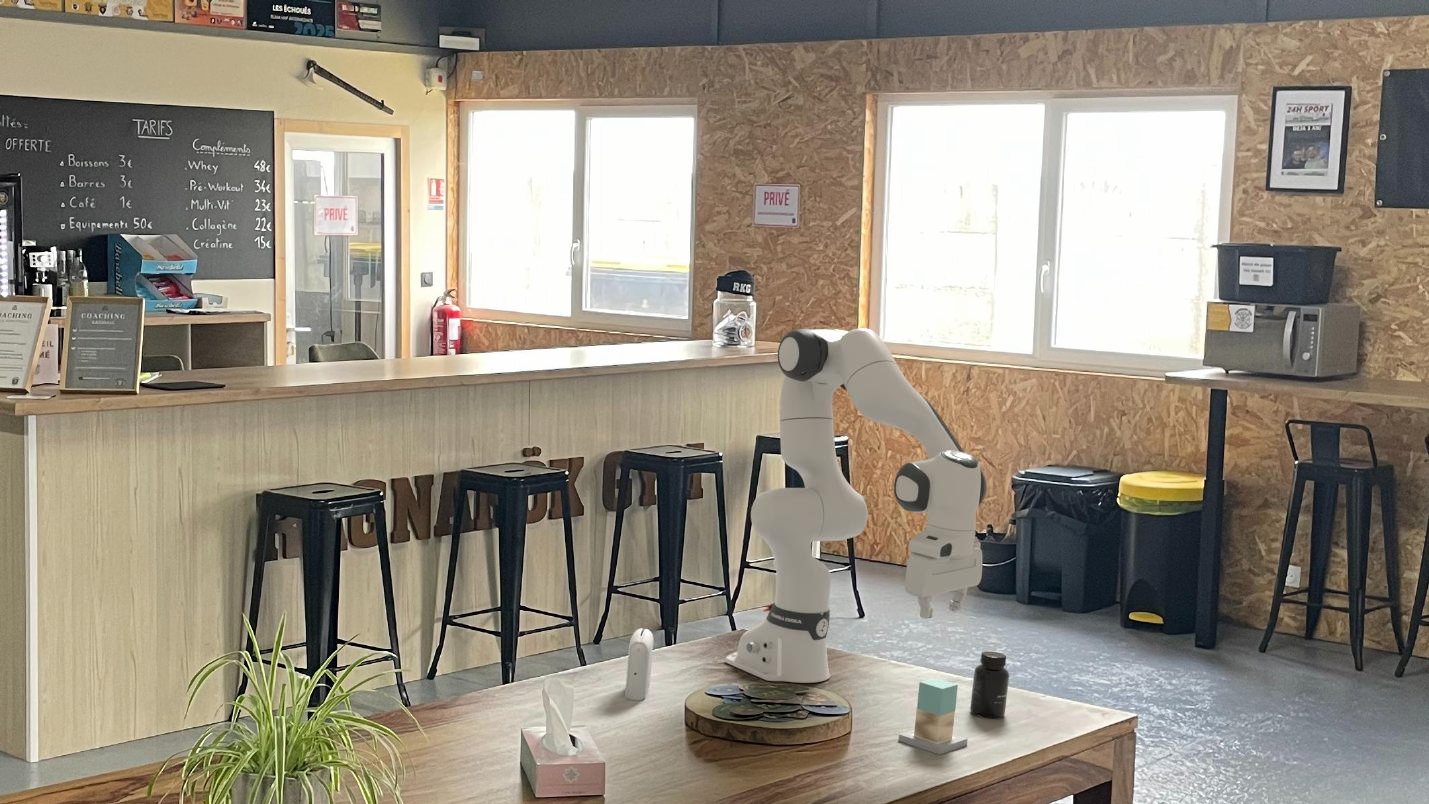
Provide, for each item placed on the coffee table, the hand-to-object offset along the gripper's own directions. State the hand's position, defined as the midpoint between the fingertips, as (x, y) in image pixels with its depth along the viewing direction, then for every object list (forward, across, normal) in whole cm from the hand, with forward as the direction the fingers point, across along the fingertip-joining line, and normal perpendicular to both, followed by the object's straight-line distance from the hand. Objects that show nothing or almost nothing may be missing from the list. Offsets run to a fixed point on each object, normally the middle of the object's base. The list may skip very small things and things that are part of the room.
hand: (940, 614), depth 291 cm
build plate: (+23, +3, +3) cm, 23 cm away
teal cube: (+17, +2, +3) cm, 17 cm away
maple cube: (+22, +2, +3) cm, 22 cm away
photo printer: (+25, +28, -48) cm, 61 cm away
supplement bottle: (+24, -22, -1) cm, 33 cm away
